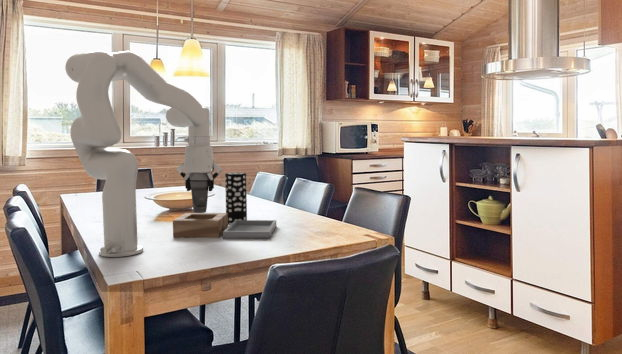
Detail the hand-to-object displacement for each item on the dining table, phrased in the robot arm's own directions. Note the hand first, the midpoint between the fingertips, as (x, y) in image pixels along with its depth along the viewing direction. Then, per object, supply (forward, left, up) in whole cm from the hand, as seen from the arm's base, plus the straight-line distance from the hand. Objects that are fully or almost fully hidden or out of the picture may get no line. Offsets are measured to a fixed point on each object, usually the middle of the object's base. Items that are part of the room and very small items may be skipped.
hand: (199, 190), depth 179 cm
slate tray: (+1, -18, -16) cm, 24 cm away
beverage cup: (0, 0, -8) cm, 8 cm away
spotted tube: (+20, -9, -16) cm, 27 cm away
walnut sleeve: (0, 0, -16) cm, 16 cm away
